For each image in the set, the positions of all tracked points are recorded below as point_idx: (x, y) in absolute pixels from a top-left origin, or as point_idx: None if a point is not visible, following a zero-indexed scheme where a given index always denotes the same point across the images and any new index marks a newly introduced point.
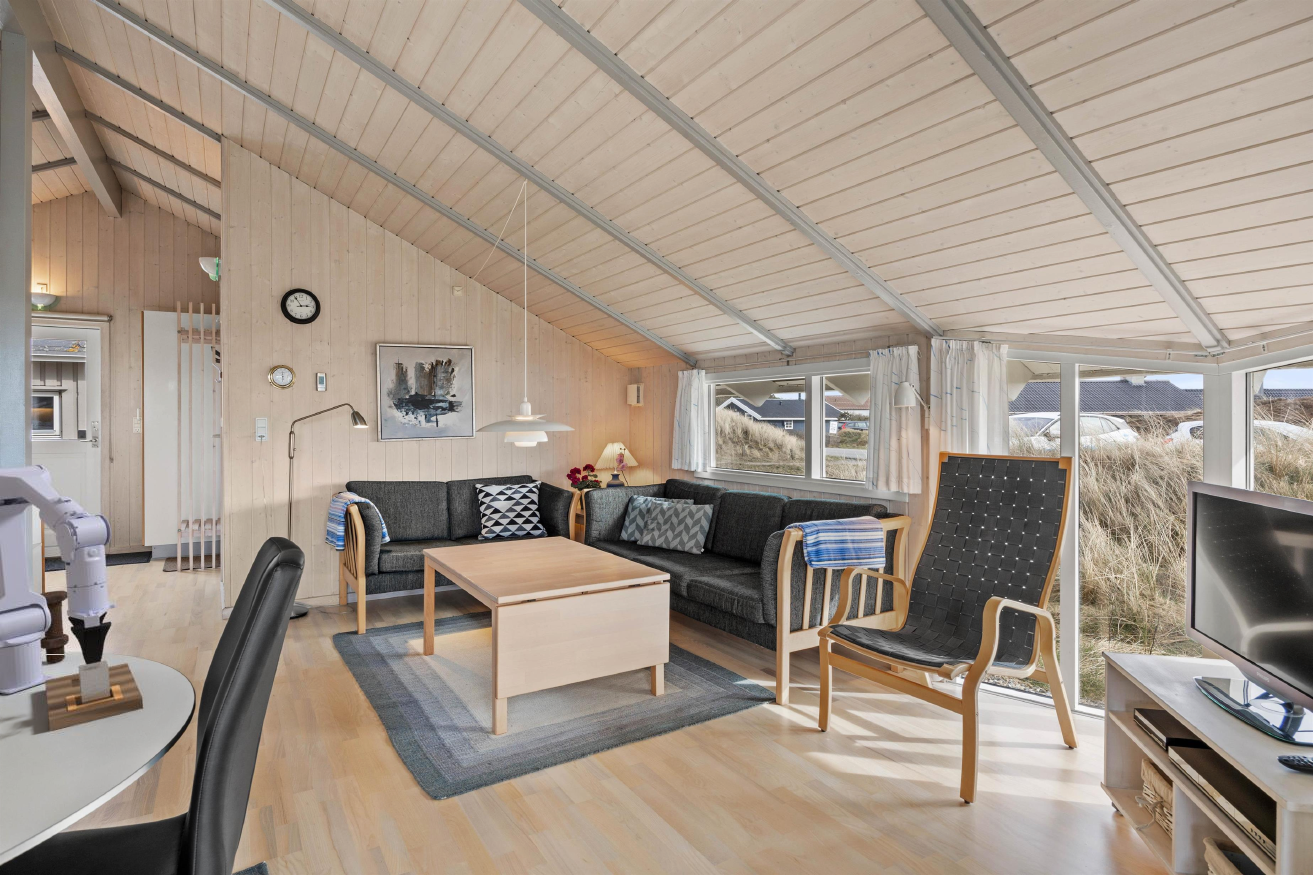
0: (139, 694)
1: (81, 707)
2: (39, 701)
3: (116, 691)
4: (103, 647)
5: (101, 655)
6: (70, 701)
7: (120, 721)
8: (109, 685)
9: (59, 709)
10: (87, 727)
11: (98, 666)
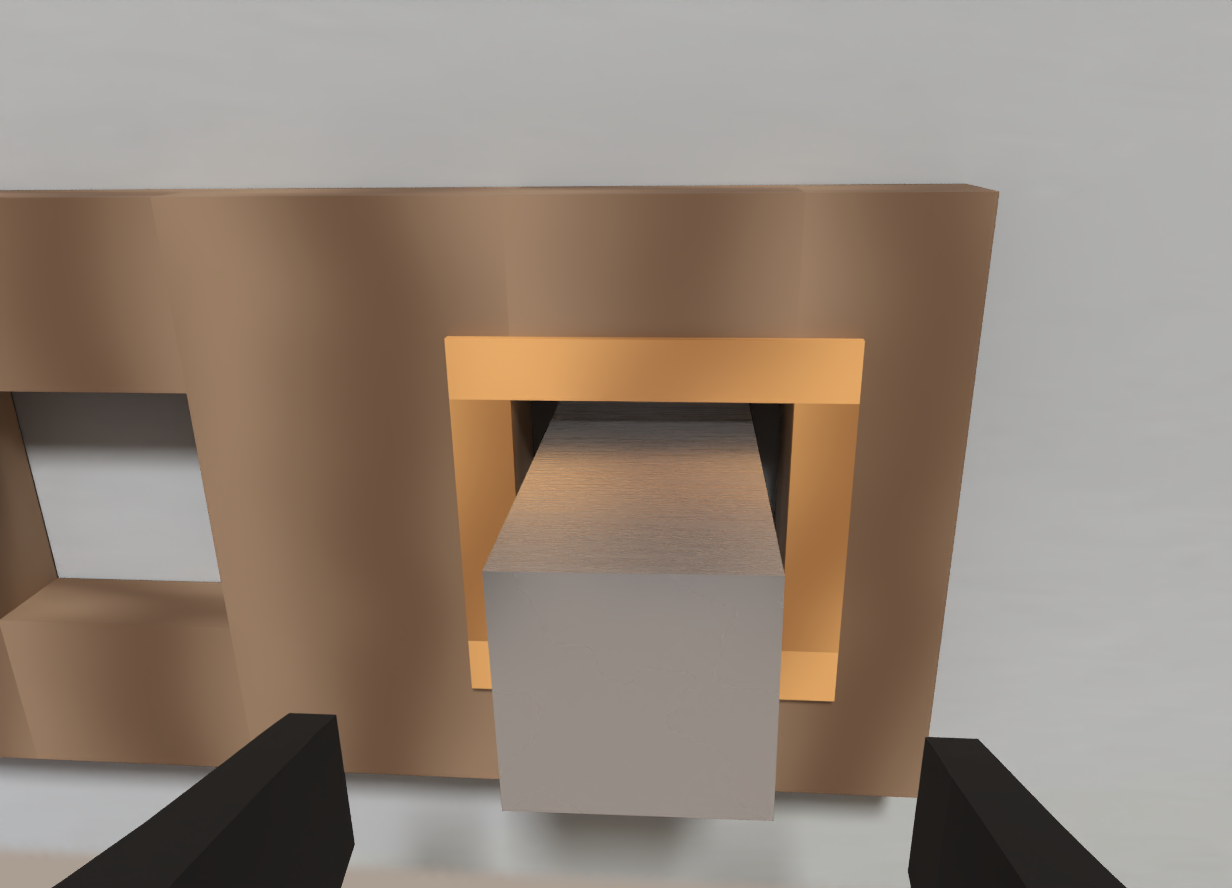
0: (876, 204)
1: (838, 623)
2: None
3: (637, 373)
4: (1113, 880)
5: (1026, 794)
6: None
7: (1140, 368)
8: (762, 471)
9: None
10: (1047, 562)
11: (709, 660)
